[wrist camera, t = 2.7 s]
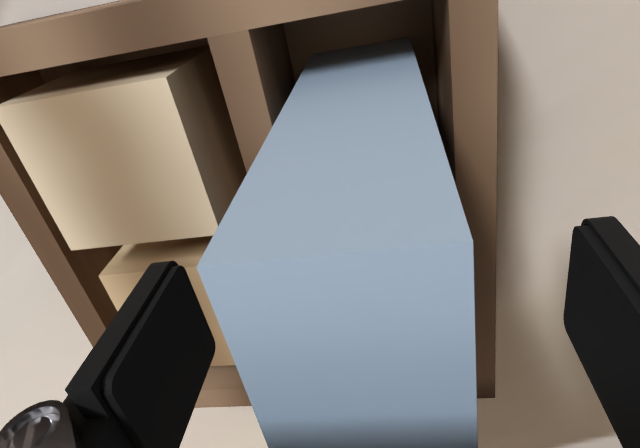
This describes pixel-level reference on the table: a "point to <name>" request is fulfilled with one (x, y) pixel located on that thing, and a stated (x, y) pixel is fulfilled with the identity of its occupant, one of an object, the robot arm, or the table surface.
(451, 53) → the rack
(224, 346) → the offcut
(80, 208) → the offcut
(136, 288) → the robot arm
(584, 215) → the table surface
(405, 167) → the panel
